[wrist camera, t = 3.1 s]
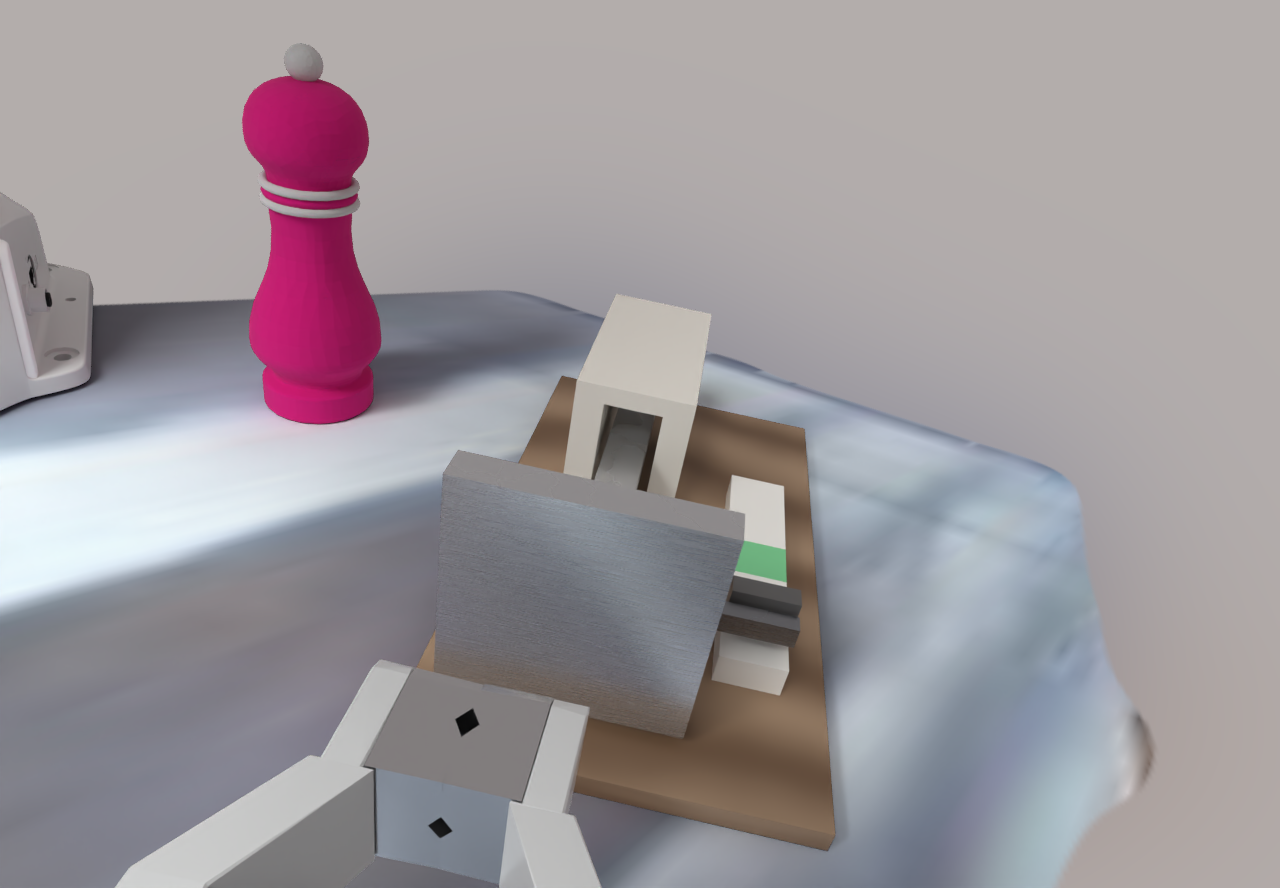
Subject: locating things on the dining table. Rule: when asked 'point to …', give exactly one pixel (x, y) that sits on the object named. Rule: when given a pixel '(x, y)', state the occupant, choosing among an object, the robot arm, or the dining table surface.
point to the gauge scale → (762, 562)
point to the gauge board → (722, 713)
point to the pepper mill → (311, 246)
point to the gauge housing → (640, 384)
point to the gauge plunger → (588, 584)
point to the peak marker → (765, 596)
